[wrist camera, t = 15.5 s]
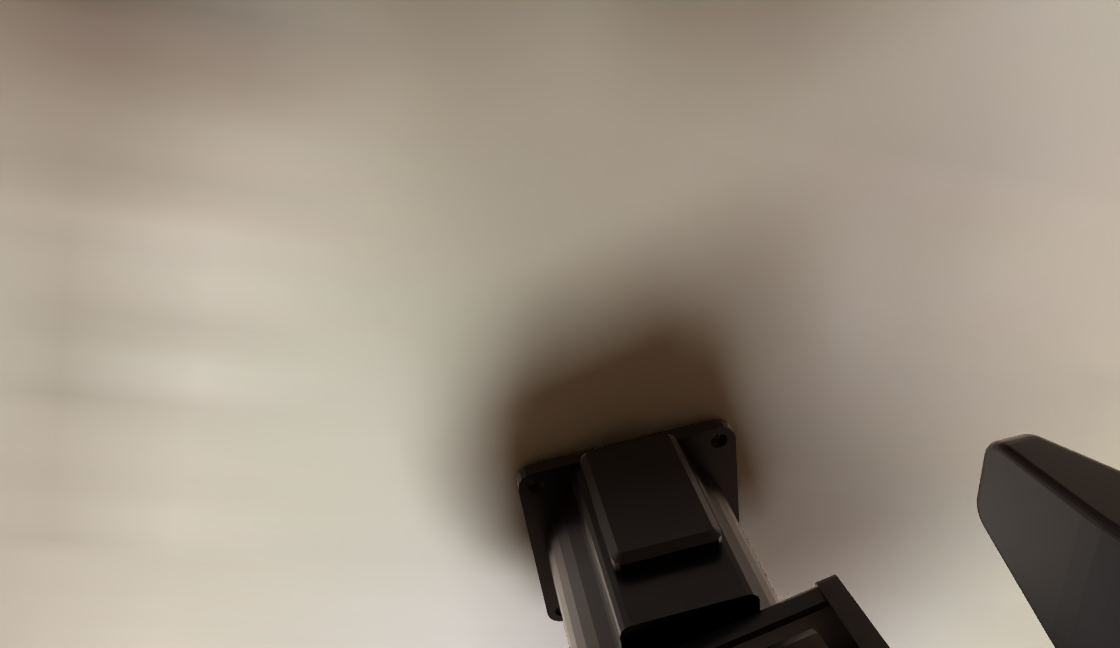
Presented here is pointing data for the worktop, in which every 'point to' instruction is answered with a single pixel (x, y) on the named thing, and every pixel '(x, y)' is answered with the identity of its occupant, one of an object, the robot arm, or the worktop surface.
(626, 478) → the robot arm
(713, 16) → the worktop surface
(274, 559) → the worktop surface
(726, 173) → the worktop surface
